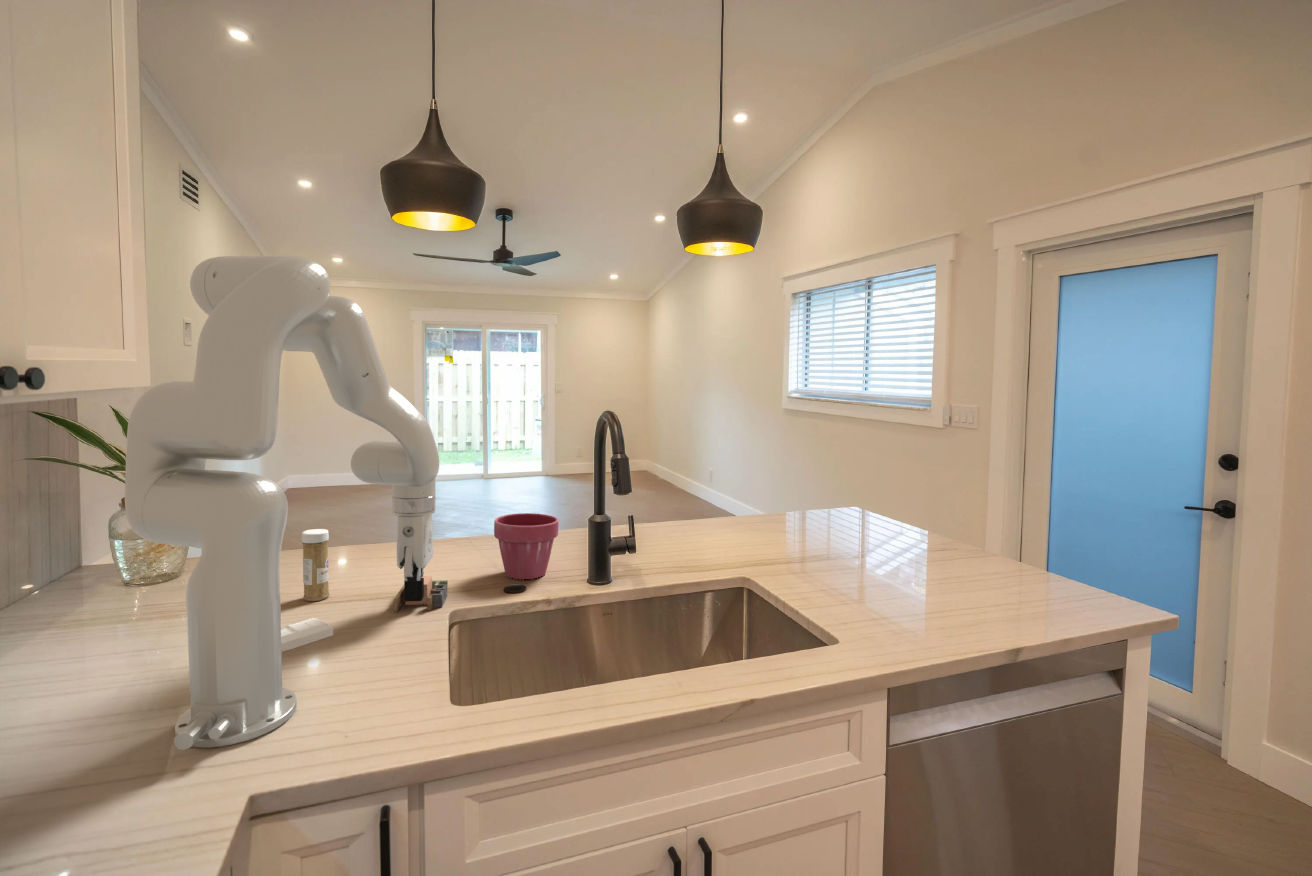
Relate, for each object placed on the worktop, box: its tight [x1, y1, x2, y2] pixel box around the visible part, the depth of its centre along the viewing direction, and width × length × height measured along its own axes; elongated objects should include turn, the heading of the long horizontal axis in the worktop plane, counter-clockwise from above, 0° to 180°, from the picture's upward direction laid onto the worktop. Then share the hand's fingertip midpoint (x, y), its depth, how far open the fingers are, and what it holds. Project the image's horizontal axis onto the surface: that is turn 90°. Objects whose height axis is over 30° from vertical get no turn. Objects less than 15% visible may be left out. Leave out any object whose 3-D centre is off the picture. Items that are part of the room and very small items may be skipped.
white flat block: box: [281, 617, 334, 653], centre depth 99 cm, size 5×9×3 cm, turn 147°
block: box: [404, 575, 433, 606], centre depth 118 cm, size 5×4×4 cm
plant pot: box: [493, 512, 559, 581], centre depth 136 cm, size 14×14×13 cm
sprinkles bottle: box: [301, 528, 330, 602], centre depth 117 cm, size 5×5×14 cm
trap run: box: [393, 579, 449, 613], centre depth 118 cm, size 10×8×2 cm
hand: (414, 599), depth 114 cm, fingers closed
